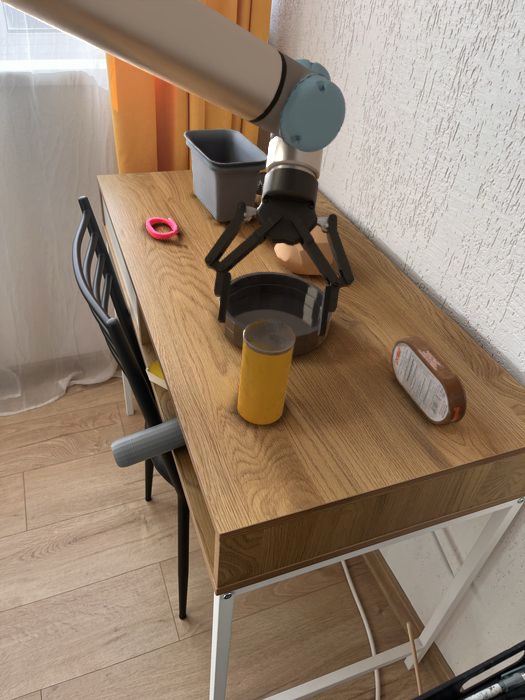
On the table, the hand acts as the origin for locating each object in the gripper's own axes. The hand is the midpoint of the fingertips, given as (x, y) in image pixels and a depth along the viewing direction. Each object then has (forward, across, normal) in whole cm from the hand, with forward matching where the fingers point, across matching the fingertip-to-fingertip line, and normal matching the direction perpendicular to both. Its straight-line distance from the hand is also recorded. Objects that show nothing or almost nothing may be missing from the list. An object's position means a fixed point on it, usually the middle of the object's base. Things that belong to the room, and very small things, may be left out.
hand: (271, 328), depth 71 cm
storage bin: (-34, +15, -49) cm, 61 cm away
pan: (-3, 0, -18) cm, 19 cm away
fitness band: (-22, +26, -38) cm, 51 cm away
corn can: (+11, 0, -4) cm, 12 cm away
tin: (+7, -23, -8) cm, 25 cm away
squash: (-20, -2, -35) cm, 40 cm away
